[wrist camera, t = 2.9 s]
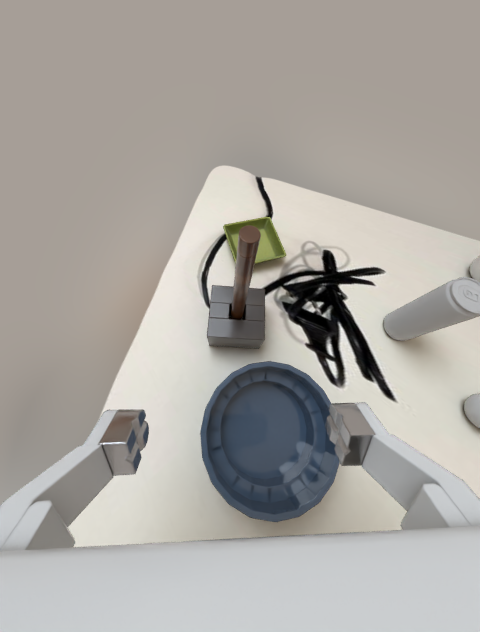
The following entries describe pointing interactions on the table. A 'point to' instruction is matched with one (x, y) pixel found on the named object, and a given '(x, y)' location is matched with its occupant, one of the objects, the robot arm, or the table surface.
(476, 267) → the plastic bottle
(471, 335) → the table surface
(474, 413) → the smooth white sculpture
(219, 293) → the holder
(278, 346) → the table surface
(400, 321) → the beverage can
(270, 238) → the saucer
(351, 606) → the robot arm
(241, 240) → the stick
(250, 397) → the bowl
